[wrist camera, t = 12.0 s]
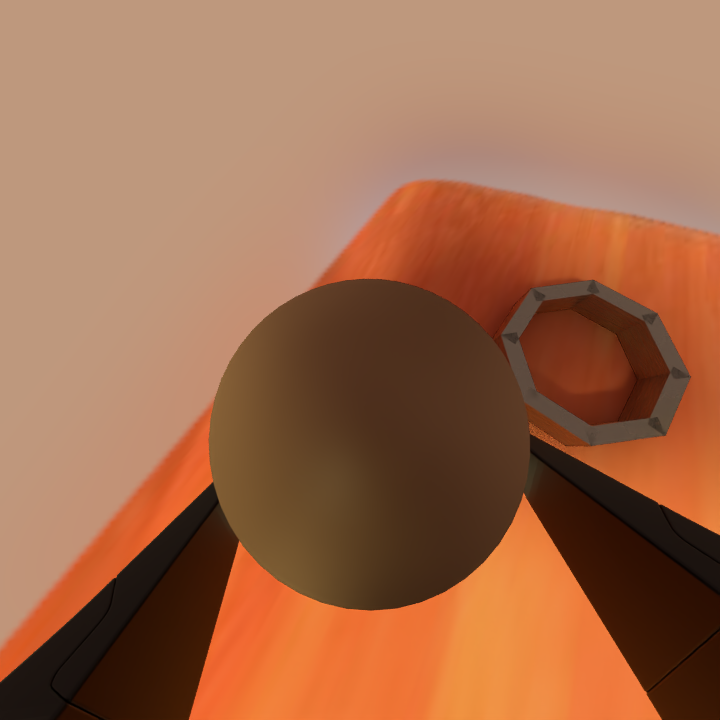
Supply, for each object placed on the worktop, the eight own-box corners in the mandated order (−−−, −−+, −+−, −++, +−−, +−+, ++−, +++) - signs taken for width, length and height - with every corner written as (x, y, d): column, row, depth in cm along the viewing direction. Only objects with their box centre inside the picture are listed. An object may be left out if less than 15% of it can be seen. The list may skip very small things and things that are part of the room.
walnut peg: (420, 421, 17) (571, 354, 4) (384, 495, 15) (451, 706, 3) (353, 385, 17) (315, 240, 5) (314, 453, 16) (141, 481, 4)
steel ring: (671, 350, 18) (707, 339, 16) (612, 477, 16) (646, 482, 14) (534, 275, 20) (551, 257, 18) (465, 378, 18) (476, 370, 16)
